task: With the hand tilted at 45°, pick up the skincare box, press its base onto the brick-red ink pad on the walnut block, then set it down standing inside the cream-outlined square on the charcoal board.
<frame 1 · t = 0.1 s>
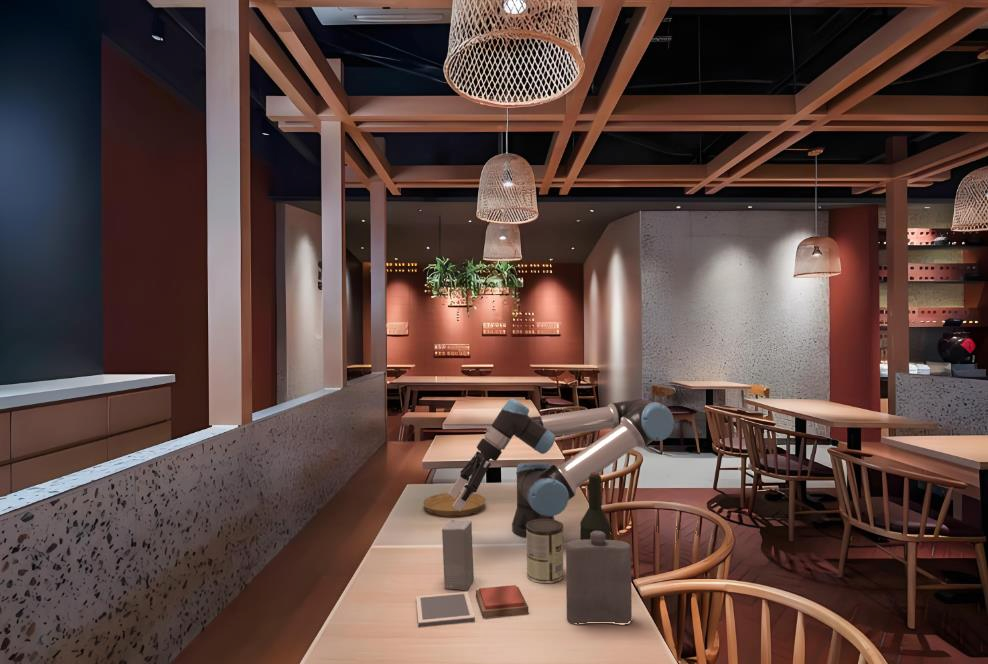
hand: (453, 502, 168), 15 cm above the table, tool tilted 35°, fingers open, 13 cm apart
wine bottle: (595, 589, 143), on the table
flask: (598, 620, 127), on the table
marked board: (444, 610, 132), on the table
skincare box: (458, 584, 147), on the table
ink pad: (501, 604, 134), on the table
plant saucer: (454, 509, 212), on the table
coffee can: (544, 576, 151), on the table
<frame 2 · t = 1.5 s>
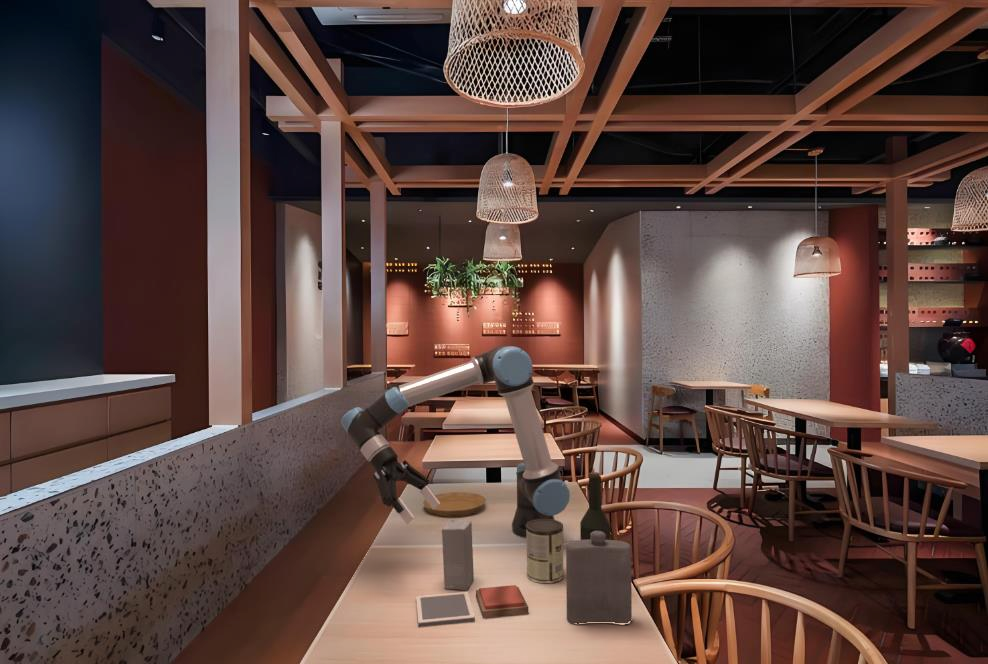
hand: (424, 513, 151), 17 cm above the table, tool tilted 45°, fingers open, 13 cm apart
nothing on the table moved.
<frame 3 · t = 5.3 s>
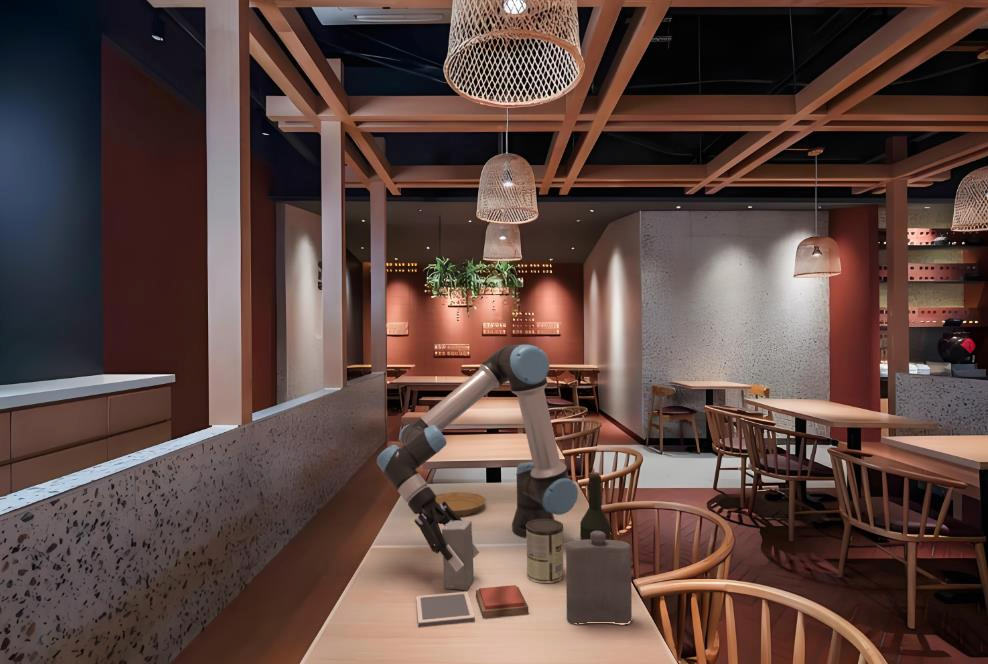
hand: (468, 561, 145), 6 cm above the table, tool tilted 45°, fingers closed on skincare box, 9 cm apart
skincare box: (458, 583, 147), on the table, touching gripper
everything else where it was.
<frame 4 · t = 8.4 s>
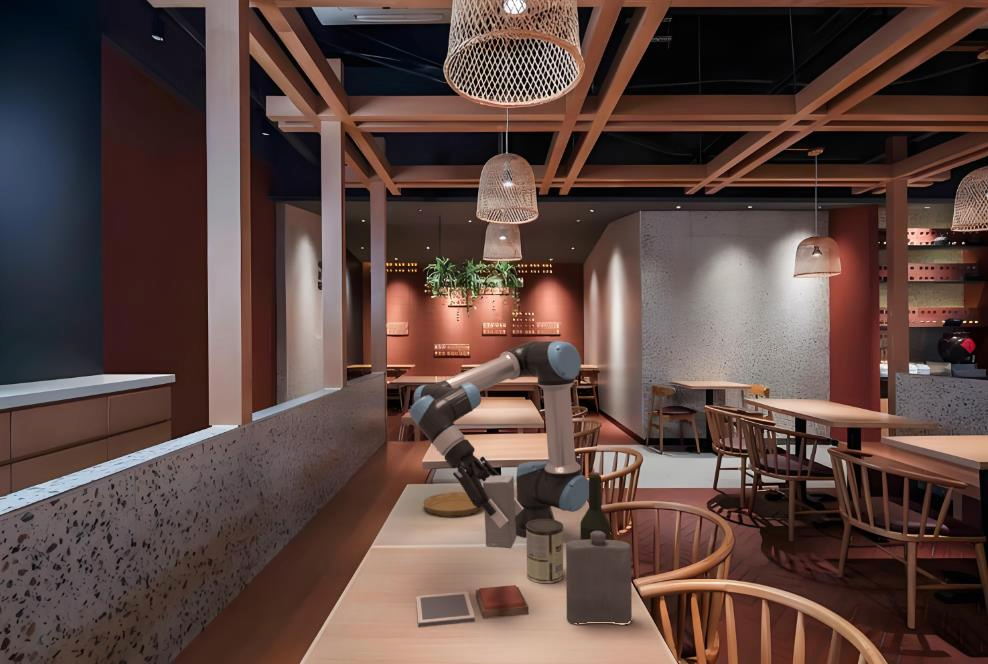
hand: (512, 518, 133), 22 cm above the table, tool tilted 45°, fingers closed on skincare box, 9 cm apart
skincare box: (500, 543, 135), point 15 cm above the table, touching gripper
everything else where it was.
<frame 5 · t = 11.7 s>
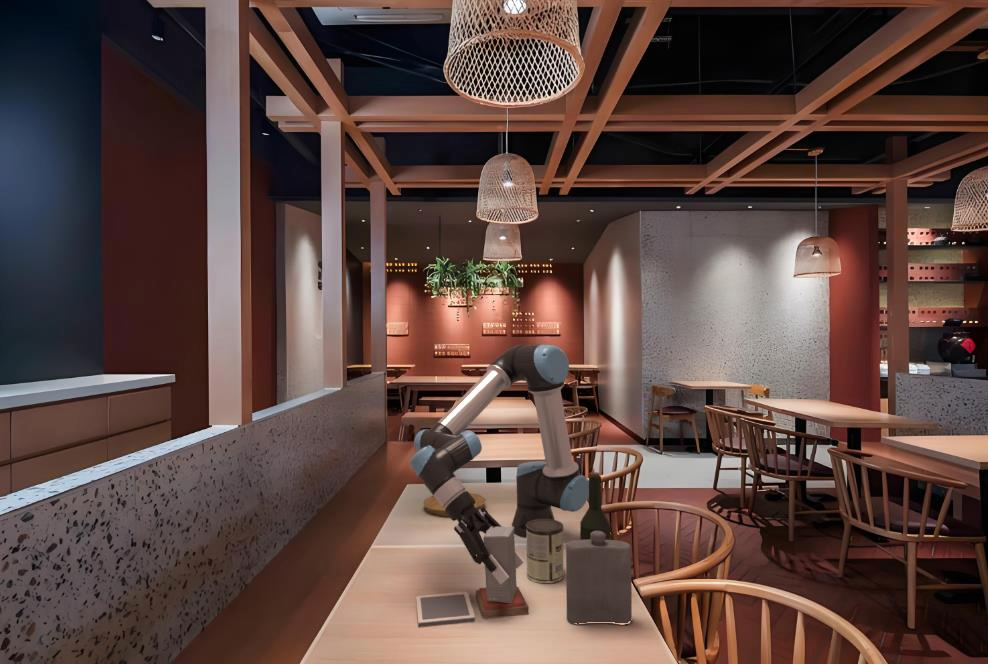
hand: (512, 572, 133), 8 cm above the table, tool tilted 45°, fingers closed on skincare box, 9 cm apart
skincare box: (500, 596, 134), point 2 cm above the table, touching gripper, ink pad
everything else where it was.
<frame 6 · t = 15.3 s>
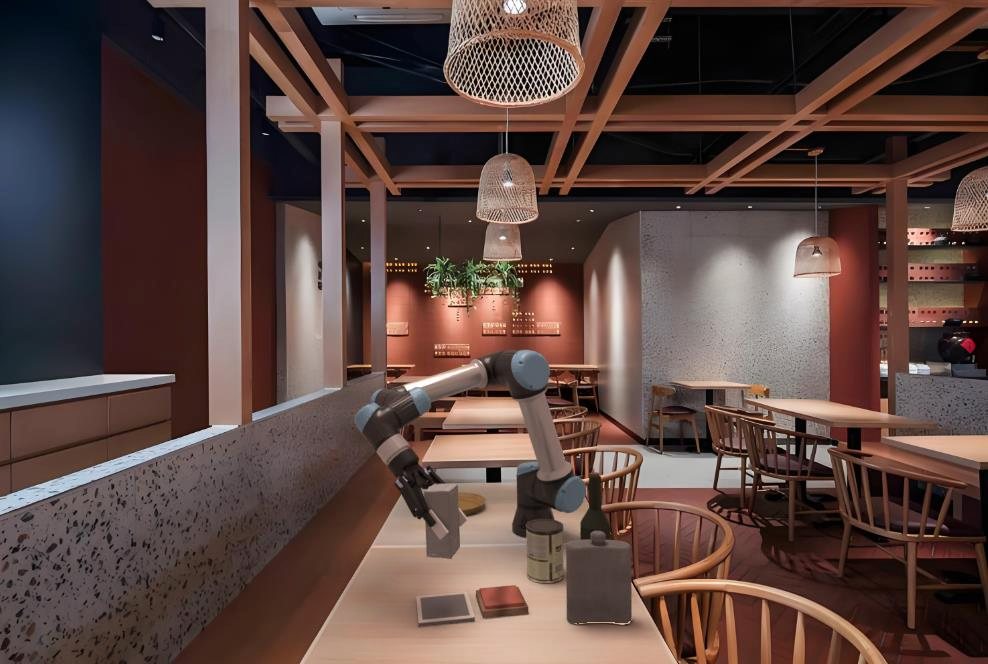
hand: (454, 529, 131), 20 cm above the table, tool tilted 45°, fingers closed on skincare box, 9 cm apart
skincare box: (442, 553, 132), point 14 cm above the table, touching gripper
everything else where it was.
when the fingers open (8 cm above the table, at t = 18.3 s): skincare box drops 1 cm, resting on marked board.
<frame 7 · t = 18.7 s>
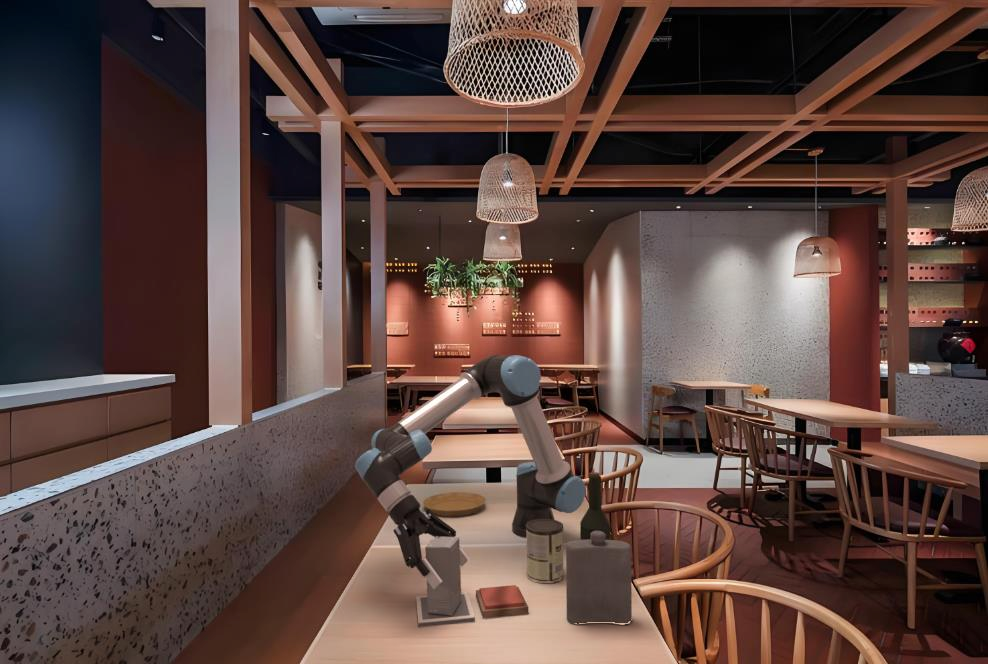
hand: (452, 573, 131), 9 cm above the table, tool tilted 45°, fingers open, 13 cm apart
skincare box: (443, 607, 132), point 1 cm above the table, touching marked board
everything else where it was.
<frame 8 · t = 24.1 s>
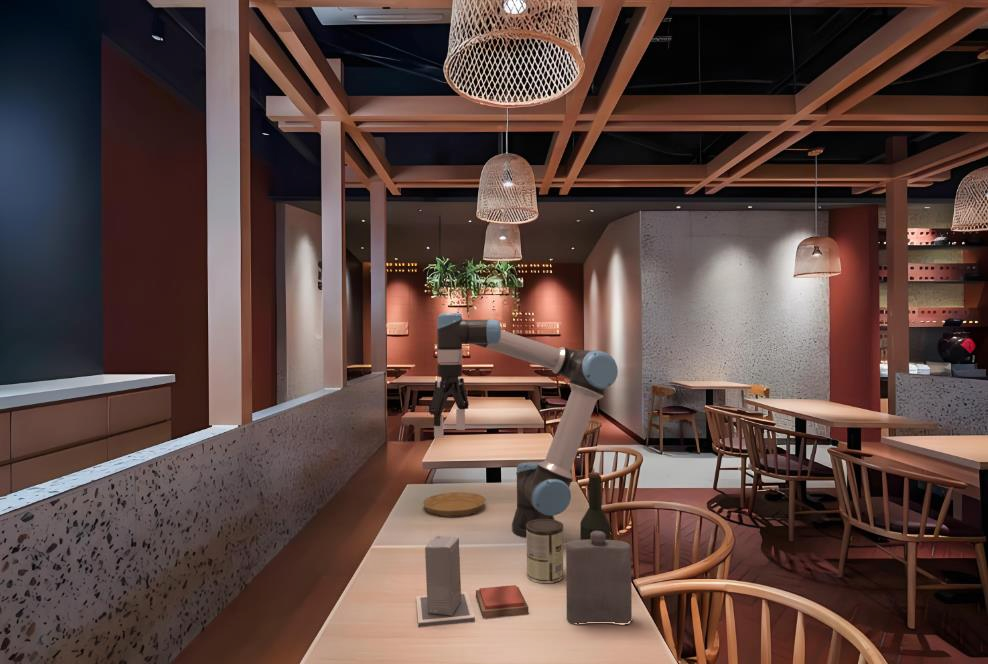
hand: (450, 433, 167), 37 cm above the table, tool pointing down, fingers open, 13 cm apart
nothing on the table moved.
at the end: skincare box 0.1 cm off-centre on the marked board, point 0.6 cm above the marked board's base; skincare box tilted 0°; the gripper is holding nothing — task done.
